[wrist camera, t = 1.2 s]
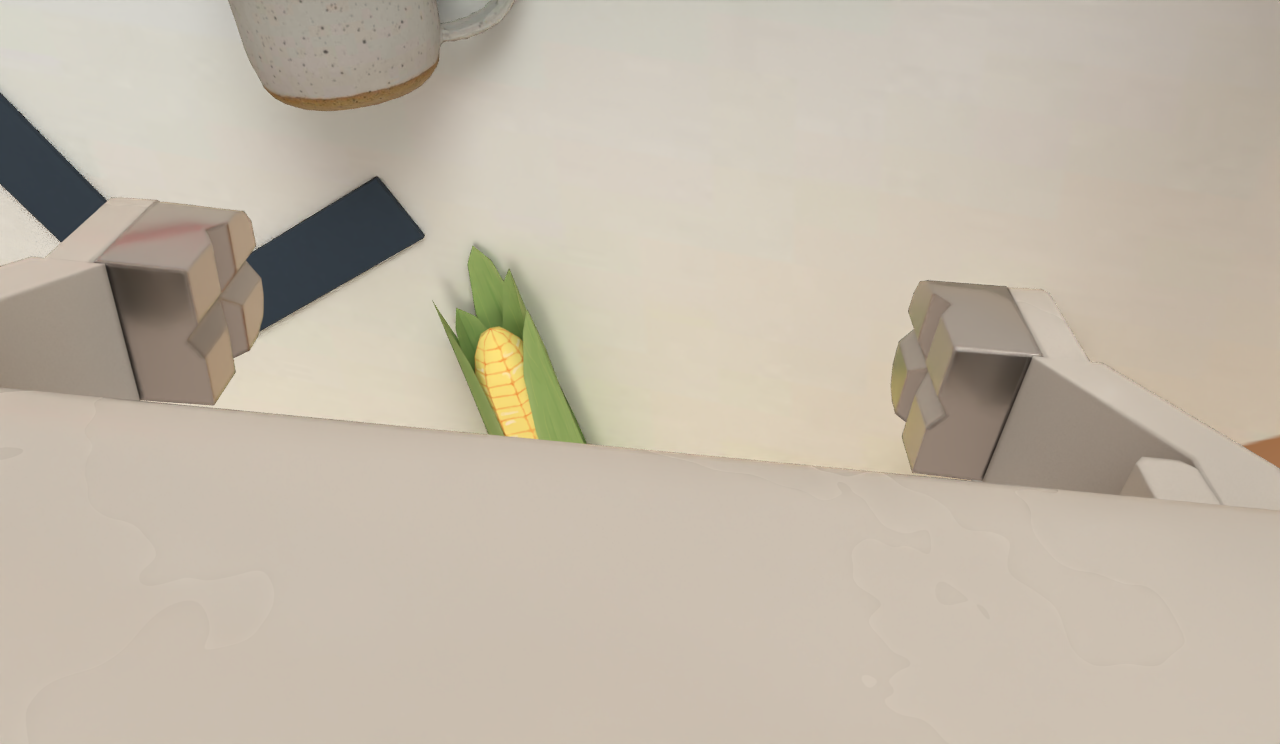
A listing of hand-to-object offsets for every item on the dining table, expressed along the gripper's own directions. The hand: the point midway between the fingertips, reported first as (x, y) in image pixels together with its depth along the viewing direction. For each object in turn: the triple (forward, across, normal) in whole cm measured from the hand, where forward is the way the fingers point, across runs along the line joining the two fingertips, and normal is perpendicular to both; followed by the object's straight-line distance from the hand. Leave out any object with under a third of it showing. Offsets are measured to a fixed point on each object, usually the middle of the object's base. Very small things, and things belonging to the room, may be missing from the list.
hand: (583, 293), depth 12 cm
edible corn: (+31, +3, +26) cm, 40 cm away
